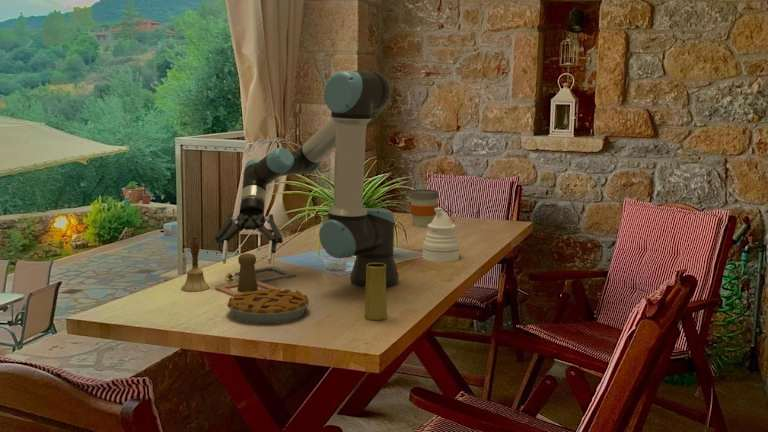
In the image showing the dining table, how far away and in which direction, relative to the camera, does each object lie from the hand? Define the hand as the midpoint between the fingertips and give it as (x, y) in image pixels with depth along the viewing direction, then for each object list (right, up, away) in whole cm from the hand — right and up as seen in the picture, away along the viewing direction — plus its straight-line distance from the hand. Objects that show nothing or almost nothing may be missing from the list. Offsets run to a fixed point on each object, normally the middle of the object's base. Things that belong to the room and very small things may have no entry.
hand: (246, 261), depth 240 cm
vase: (+39, -14, -26) cm, 49 cm away
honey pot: (+61, -1, +47) cm, 77 cm away
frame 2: (+3, -5, +18) cm, 19 cm away
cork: (0, -9, 0) cm, 9 cm away
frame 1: (0, -8, 0) cm, 9 cm away
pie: (+10, -13, -23) cm, 28 cm away
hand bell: (-16, -8, +1) cm, 18 cm away
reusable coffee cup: (+58, +9, +109) cm, 124 cm away
